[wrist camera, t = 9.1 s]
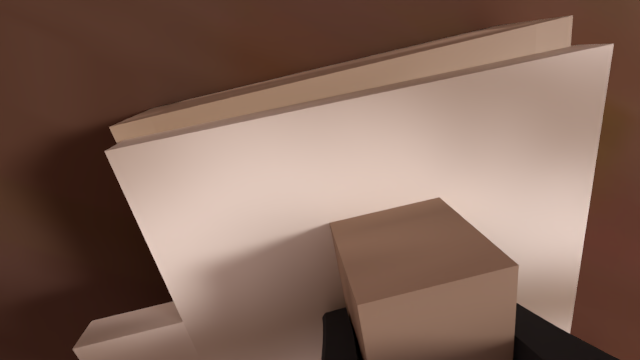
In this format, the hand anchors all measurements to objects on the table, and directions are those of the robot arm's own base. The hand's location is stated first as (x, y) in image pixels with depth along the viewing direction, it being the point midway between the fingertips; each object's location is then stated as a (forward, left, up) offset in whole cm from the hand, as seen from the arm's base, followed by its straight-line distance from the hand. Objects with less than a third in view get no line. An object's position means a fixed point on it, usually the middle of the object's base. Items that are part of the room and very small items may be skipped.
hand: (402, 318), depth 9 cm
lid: (-1, +2, -1) cm, 2 cm away
